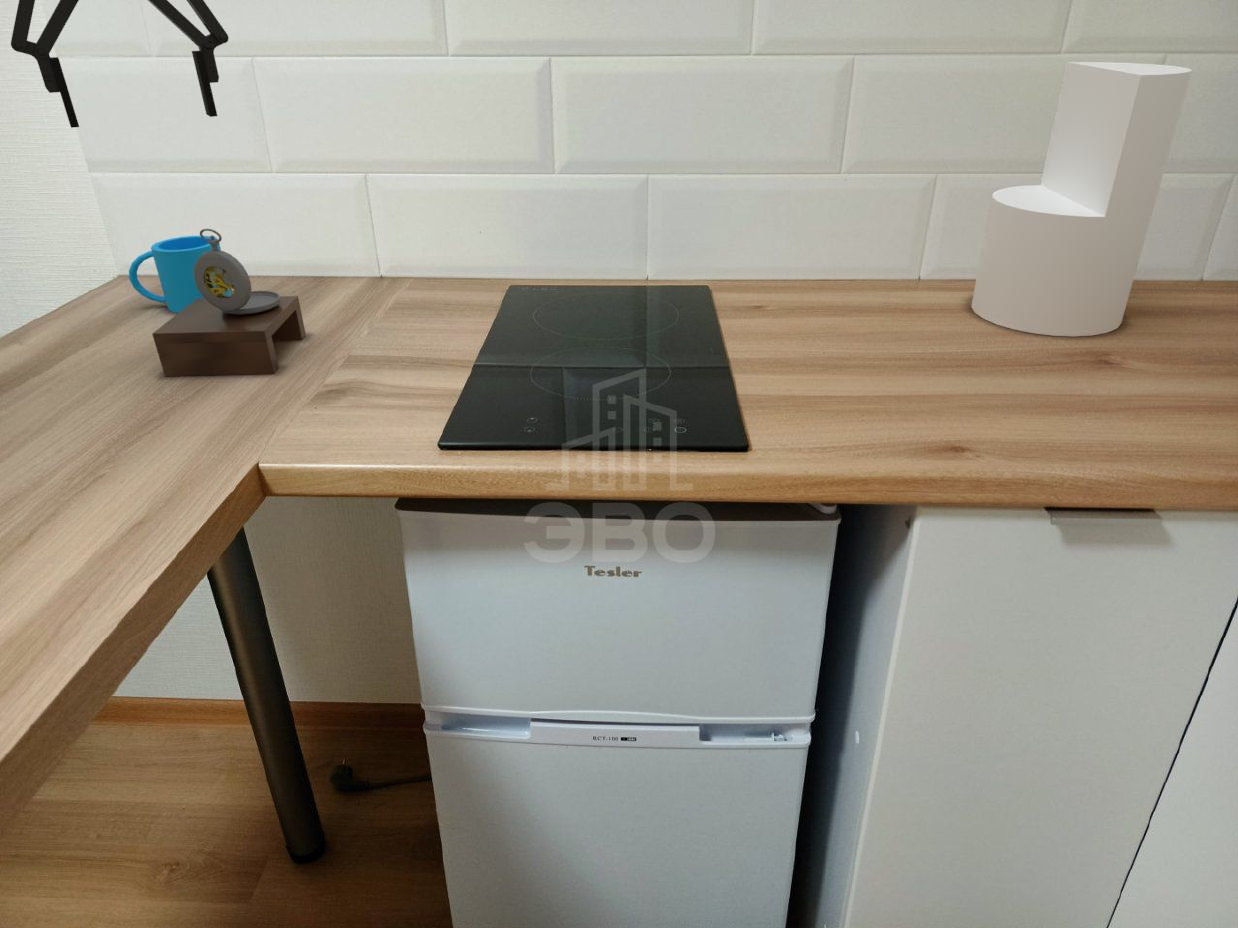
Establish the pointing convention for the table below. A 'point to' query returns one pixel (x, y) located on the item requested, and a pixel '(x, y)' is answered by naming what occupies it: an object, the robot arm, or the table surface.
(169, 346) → the stand
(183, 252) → the mug
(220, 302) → the pocket watch
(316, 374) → the table surface
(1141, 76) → the white stepped block
